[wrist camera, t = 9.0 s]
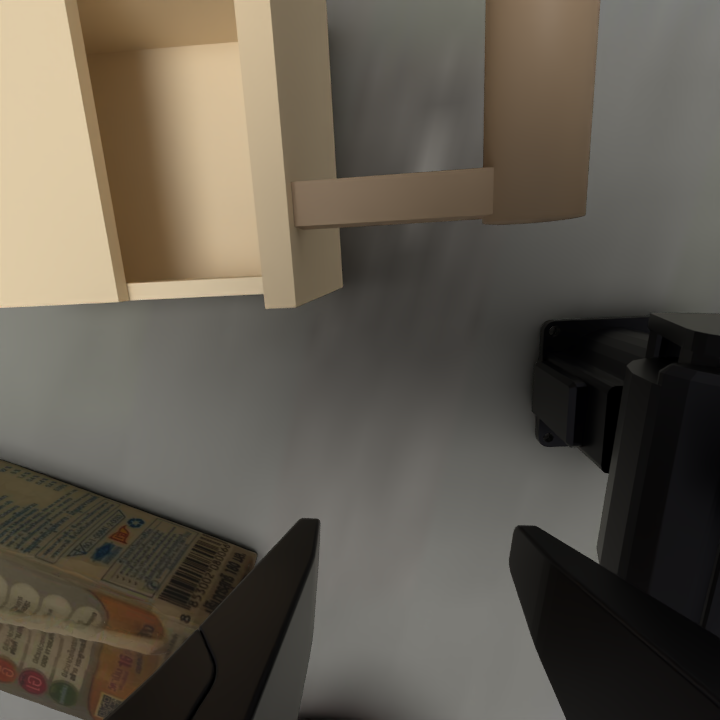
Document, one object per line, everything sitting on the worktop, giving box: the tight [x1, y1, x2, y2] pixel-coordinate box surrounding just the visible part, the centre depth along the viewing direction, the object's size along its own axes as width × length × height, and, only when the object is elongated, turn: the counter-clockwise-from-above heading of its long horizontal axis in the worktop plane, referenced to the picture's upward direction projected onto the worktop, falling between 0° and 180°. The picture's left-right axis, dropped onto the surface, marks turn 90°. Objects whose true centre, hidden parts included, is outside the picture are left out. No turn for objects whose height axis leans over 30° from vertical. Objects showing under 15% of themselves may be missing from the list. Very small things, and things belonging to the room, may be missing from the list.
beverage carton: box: [0, 460, 257, 720], centre depth 22 cm, size 8×19×7 cm, turn 69°
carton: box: [0, 0, 264, 308], centre depth 16 cm, size 14×11×7 cm
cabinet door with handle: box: [234, 0, 600, 309], centre depth 10 cm, size 7×11×6 cm
